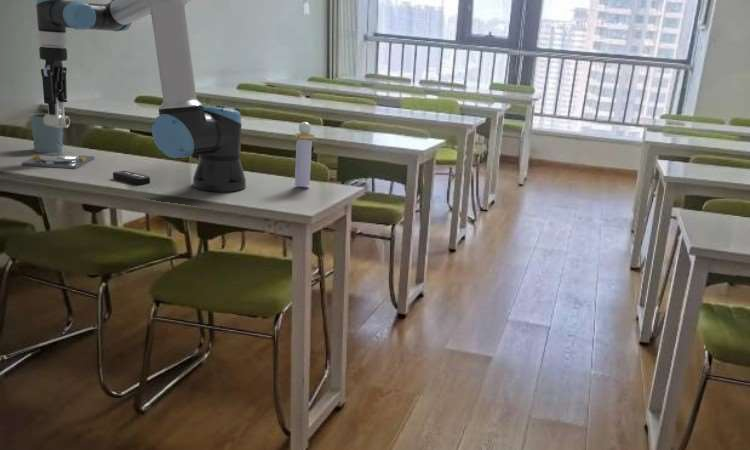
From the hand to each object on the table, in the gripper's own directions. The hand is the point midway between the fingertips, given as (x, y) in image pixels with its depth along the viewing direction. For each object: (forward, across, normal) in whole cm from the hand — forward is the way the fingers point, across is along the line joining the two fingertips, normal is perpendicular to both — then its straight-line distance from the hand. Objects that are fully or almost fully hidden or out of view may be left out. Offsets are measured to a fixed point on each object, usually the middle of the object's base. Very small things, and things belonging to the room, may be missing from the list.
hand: (57, 123), depth 203 cm
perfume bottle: (+12, +14, +77) cm, 79 cm away
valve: (+1, 0, 0) cm, 1 cm away
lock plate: (+12, 0, 0) cm, 12 cm away
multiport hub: (+12, +19, +28) cm, 36 cm away
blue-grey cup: (+12, -17, -10) cm, 23 cm away
